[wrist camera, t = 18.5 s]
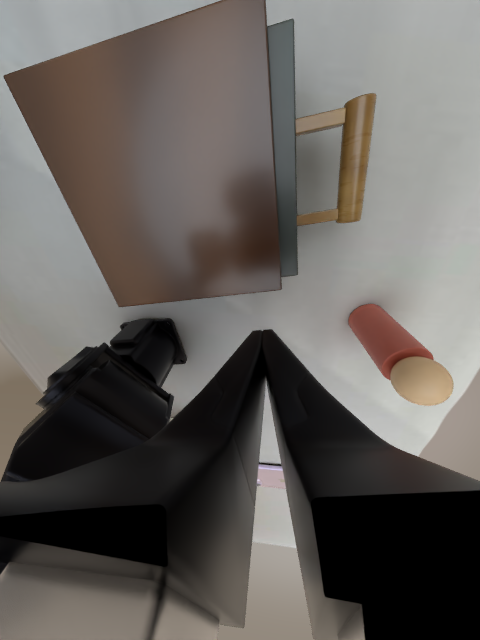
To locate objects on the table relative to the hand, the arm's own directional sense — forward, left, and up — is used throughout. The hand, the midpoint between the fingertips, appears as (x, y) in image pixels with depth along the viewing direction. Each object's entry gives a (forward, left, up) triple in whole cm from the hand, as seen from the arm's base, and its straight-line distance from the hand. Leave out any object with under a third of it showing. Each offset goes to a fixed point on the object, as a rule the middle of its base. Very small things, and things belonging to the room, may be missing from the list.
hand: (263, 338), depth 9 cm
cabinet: (+6, +5, -12) cm, 14 cm away
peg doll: (-7, -10, -12) cm, 17 cm away
